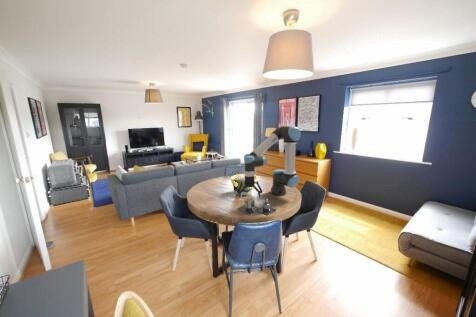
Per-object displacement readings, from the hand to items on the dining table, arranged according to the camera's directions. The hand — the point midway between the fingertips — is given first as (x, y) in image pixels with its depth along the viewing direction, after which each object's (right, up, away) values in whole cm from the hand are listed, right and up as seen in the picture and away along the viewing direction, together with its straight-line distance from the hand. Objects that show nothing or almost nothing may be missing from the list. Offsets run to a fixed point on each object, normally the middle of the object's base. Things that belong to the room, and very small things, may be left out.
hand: (249, 200), depth 160 cm
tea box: (-5, 0, +35) cm, 36 cm away
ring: (0, -3, 0) cm, 3 cm away
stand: (+13, -7, -1) cm, 15 cm away
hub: (0, -7, +1) cm, 7 cm away
